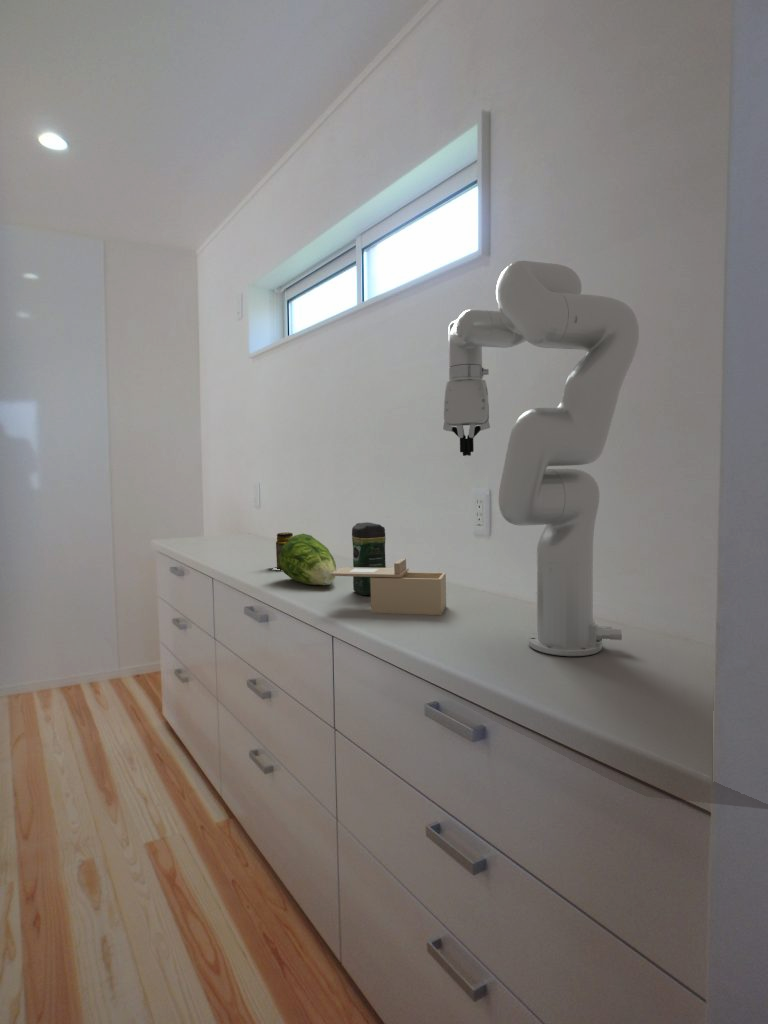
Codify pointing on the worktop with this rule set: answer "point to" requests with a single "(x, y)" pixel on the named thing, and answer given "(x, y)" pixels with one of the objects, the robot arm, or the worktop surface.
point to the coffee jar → (367, 552)
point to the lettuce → (307, 560)
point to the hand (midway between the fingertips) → (466, 455)
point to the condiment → (280, 542)
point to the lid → (374, 571)
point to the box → (409, 594)
